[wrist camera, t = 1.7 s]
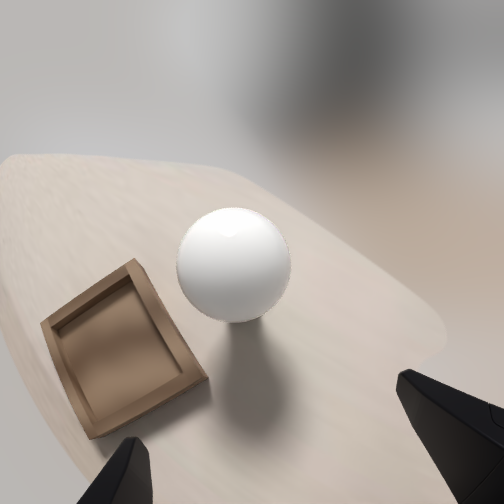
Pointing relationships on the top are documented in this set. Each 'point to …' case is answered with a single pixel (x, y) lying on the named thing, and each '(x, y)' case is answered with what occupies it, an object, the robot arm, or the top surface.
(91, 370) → the walnut tray
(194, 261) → the lightbulb
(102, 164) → the top surface
